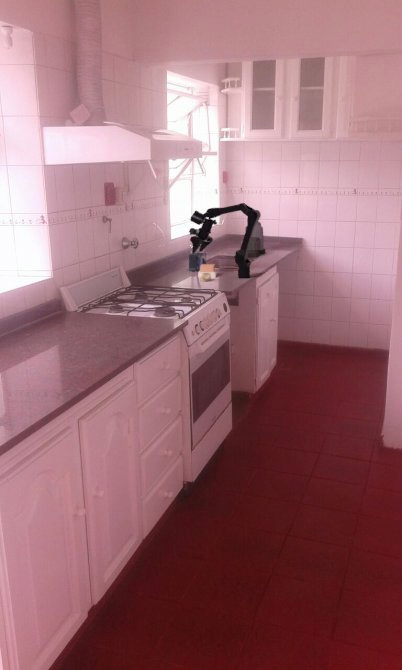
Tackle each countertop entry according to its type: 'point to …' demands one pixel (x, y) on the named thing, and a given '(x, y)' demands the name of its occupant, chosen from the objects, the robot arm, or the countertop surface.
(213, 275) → the tower base
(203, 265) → the tower top
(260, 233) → the juicer
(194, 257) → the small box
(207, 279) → the maple puck
